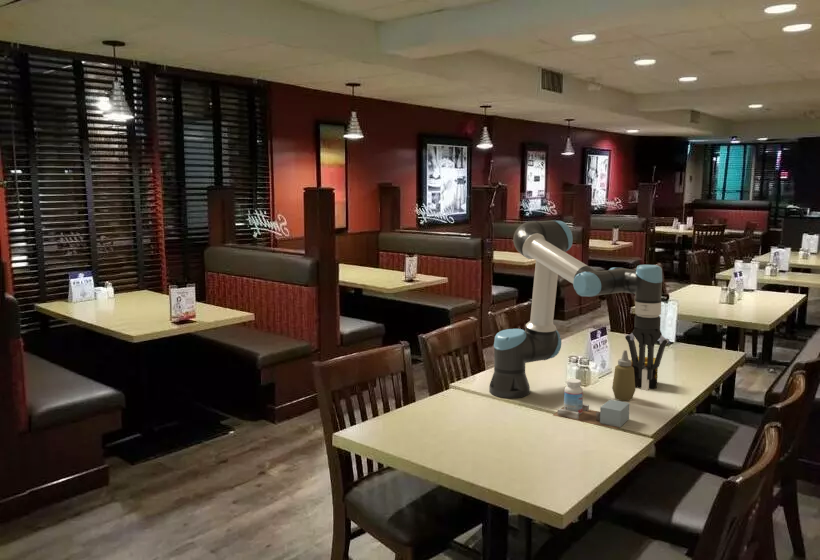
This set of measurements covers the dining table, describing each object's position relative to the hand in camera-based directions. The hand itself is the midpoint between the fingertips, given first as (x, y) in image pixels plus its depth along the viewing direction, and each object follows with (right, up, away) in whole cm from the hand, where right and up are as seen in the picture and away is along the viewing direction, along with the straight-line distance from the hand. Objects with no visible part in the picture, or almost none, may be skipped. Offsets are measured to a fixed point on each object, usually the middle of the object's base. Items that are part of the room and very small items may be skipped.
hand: (645, 389), depth 204 cm
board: (-14, -13, +12) cm, 22 cm away
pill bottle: (-19, -11, +16) cm, 27 cm away
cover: (-7, -12, +7) cm, 16 cm away
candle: (+17, -7, +50) cm, 53 cm away
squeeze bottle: (+4, -9, +34) cm, 35 cm away
